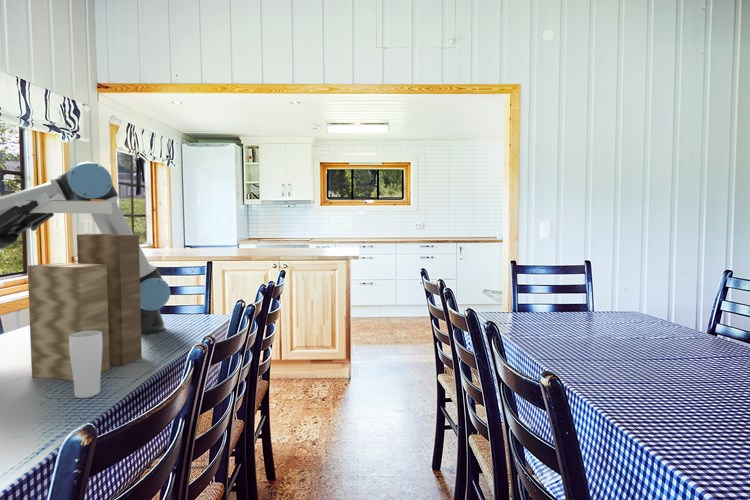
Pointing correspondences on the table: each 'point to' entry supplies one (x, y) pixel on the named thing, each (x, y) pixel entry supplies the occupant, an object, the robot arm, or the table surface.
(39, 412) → the table surface
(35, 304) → the stepped stand
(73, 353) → the drinking glass
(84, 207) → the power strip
